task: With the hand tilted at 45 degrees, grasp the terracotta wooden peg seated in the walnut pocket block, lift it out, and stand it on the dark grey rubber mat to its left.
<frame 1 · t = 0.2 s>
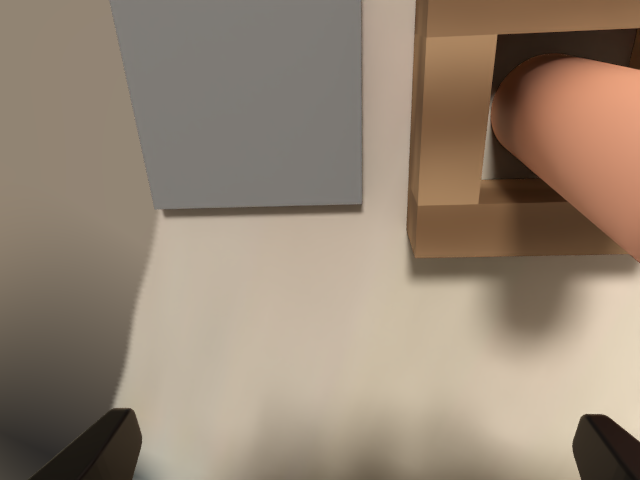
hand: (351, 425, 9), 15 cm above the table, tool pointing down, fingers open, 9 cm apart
rubber mat: (248, 95, 21), on the table
walnut pocket block: (543, 108, 21), on the table
terracotta peg: (606, 139, 16), in the walnut pocket block
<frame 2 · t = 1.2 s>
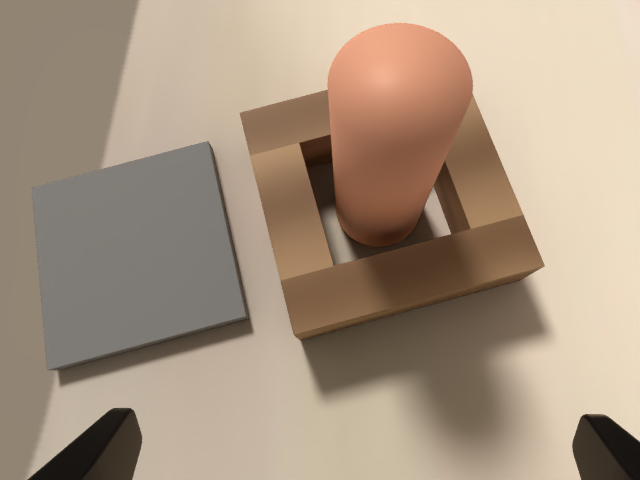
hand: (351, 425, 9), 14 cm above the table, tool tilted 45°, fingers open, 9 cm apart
rubber mat: (139, 252, 25), on the table
walnut pocket block: (377, 206, 25), on the table
terracotta peg: (385, 161, 20), in the walnut pocket block
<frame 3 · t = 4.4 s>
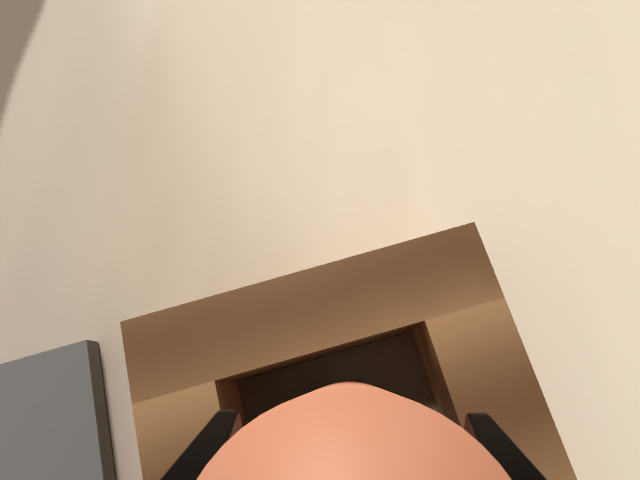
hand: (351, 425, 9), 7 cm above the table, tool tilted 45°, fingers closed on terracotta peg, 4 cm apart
walnut pocket block: (350, 450, 16), on the table
when the fingers open (9 cm above the table, at t = 8.0 s): terracotta peg drops 1 cm, resting on rubber mat.
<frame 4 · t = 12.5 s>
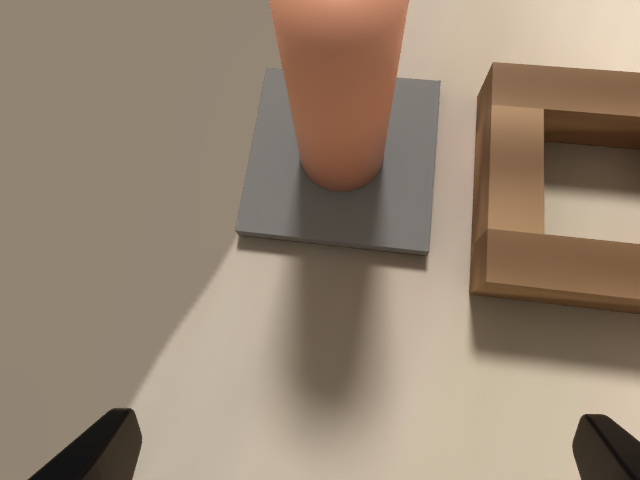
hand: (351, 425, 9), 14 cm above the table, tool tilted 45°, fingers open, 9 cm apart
rubber mat: (341, 159, 26), on the table
walnut pocket block: (584, 199, 25), on the table
terracotta peg: (340, 92, 20), on the rubber mat, point 6 cm above the table
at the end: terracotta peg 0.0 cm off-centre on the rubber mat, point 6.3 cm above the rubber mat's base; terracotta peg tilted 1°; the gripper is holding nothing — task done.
